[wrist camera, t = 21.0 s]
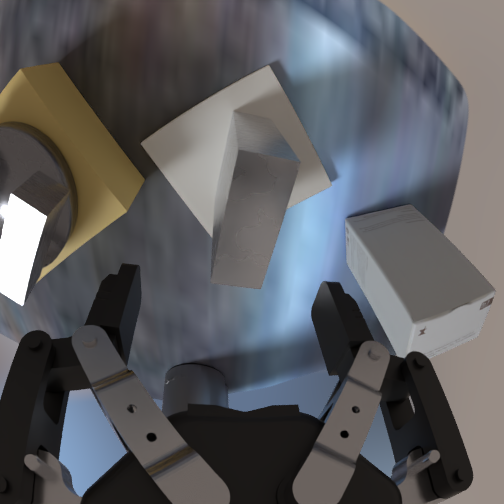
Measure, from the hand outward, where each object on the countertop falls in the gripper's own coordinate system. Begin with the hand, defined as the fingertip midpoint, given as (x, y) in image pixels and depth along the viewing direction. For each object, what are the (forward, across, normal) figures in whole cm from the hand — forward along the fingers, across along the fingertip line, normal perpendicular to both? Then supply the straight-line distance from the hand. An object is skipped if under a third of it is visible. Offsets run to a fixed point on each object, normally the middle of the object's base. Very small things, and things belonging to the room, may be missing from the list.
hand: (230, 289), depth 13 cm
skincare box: (+16, -17, +4) cm, 24 cm away
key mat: (+16, -1, -1) cm, 16 cm away
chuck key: (+15, -1, -1) cm, 15 cm away
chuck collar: (+9, +17, +1) cm, 19 cm away
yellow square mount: (+16, +17, +1) cm, 23 cm away
